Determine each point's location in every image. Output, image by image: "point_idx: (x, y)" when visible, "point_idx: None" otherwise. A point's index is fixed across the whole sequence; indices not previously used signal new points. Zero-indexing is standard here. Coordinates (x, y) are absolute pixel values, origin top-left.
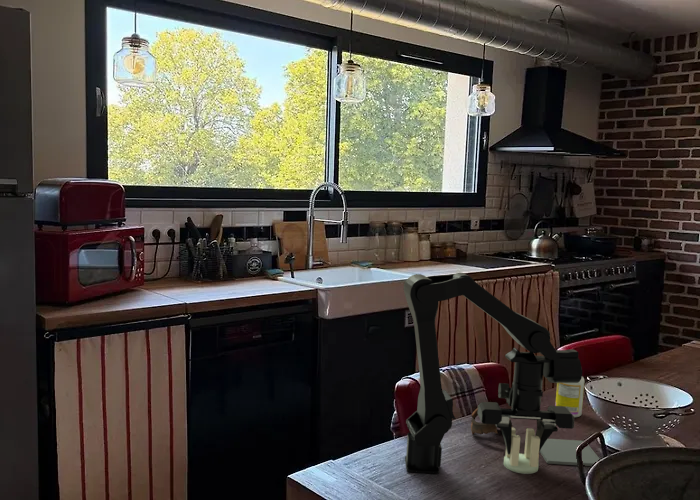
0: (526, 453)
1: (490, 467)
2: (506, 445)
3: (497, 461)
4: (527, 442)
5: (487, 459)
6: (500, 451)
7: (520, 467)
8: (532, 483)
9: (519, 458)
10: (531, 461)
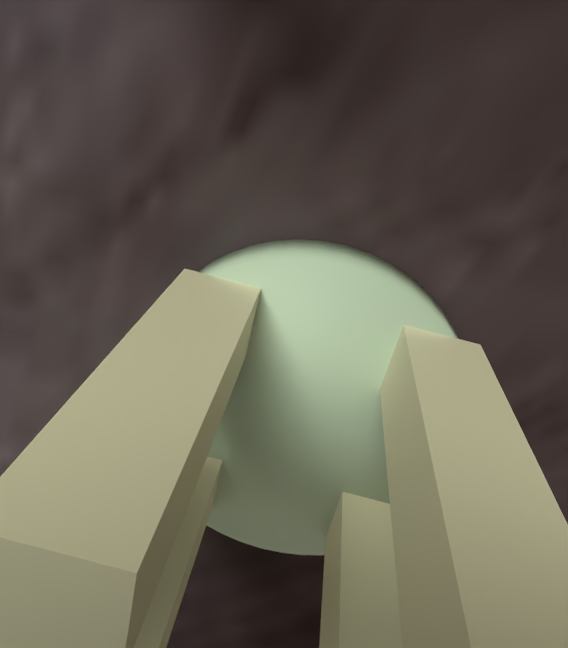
0: (384, 423)
1: (13, 373)
2: None
3: (109, 275)
4: (394, 535)
5: (18, 218)
6: (236, 13)
7: (222, 531)
8: (255, 617)
9: (301, 387)
10: (324, 584)
